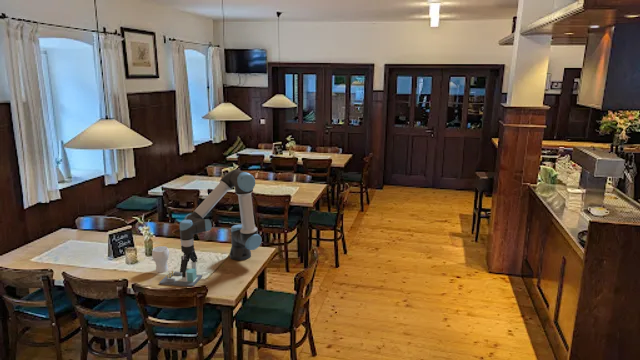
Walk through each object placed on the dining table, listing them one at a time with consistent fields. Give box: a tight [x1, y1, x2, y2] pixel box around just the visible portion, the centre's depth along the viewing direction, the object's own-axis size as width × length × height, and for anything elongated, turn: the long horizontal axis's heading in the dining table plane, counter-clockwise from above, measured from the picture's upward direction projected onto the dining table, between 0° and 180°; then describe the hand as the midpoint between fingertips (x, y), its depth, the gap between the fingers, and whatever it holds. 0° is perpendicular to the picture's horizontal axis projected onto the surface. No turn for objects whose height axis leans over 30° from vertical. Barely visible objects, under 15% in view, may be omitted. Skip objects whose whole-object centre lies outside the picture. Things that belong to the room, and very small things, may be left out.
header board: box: [158, 269, 203, 288], centre depth 281 cm, size 22×14×5 cm, turn 82°
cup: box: [151, 245, 170, 274], centre depth 294 cm, size 11×11×15 cm
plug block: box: [182, 267, 198, 282], centre depth 279 cm, size 7×6×6 cm
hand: (189, 276), depth 280 cm, fingers open, 13 cm apart
